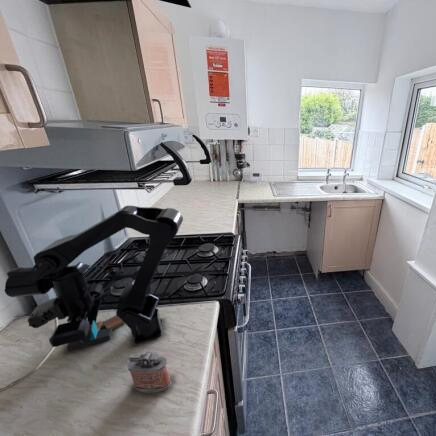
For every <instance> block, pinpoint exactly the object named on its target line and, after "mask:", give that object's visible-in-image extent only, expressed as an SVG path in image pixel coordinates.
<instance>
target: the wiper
mask: <svg viewBox="0 0 436 436" xmlns="http://www.w3.org/2000/svg"><path fill="white" fill-rule="evenodd" d="M112 335H113V330H112V328H107V329H106V328H103V329H101V330H100V331H98V329H97V326H96V324H95V321H94V320H93V326H92V332H91V338H90V341H89V342H87V343H84V342H82V341H81V340H79V341H75V342H72V343H68V344H67V346H66V348H67V351H74V350H77V349H80V348H84V347H87V346H91V345H95V344H99V343H102V342H105V341H110V340H111V339H112Z"/></svg>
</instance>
